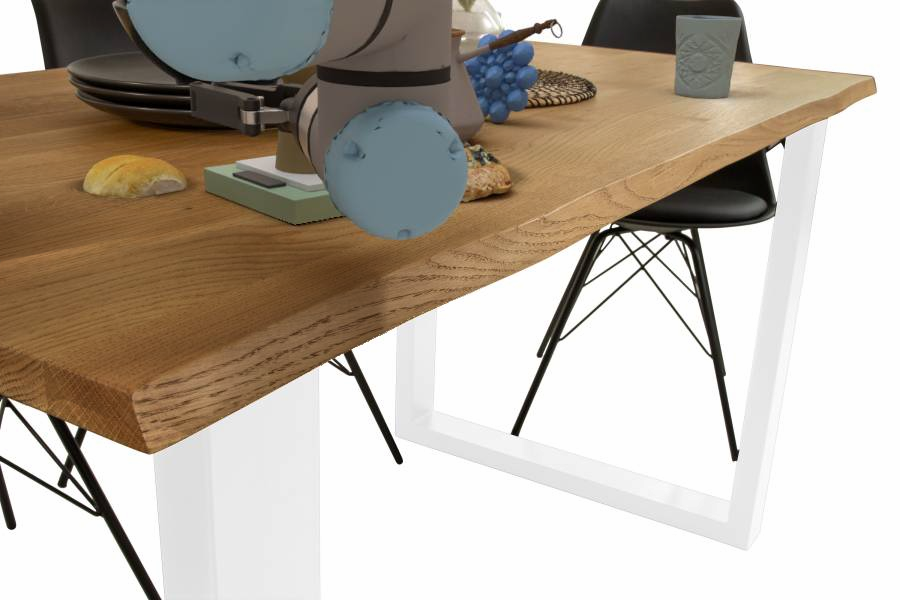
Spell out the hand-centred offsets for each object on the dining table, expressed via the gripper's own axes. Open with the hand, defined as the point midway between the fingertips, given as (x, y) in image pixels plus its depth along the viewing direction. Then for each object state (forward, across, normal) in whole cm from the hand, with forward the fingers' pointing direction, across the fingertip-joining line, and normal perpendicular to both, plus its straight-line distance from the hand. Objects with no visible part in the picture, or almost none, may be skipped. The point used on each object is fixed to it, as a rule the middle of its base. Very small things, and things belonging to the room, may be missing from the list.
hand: (309, 83), depth 86 cm
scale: (+4, 0, -11) cm, 11 cm away
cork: (+4, 0, -8) cm, 9 cm away
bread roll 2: (+4, +14, -11) cm, 19 cm away
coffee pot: (+23, +22, -11) cm, 34 cm away
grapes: (+39, +30, -11) cm, 51 cm away
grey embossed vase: (+59, +71, -11) cm, 93 cm away
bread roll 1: (+5, -15, -11) cm, 19 cm away
